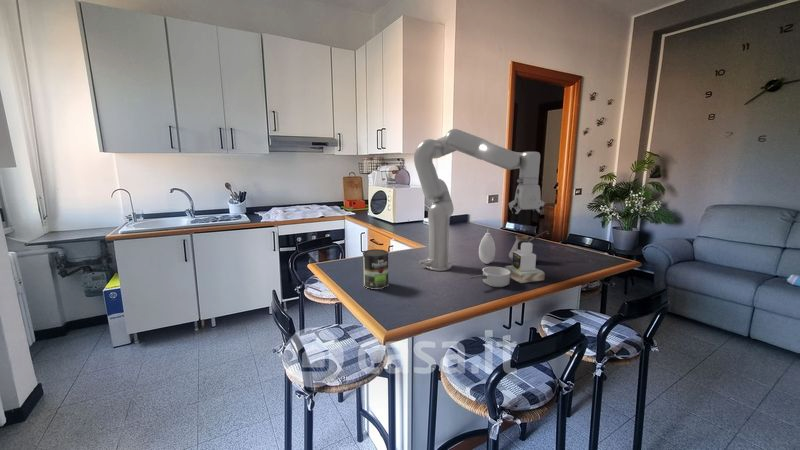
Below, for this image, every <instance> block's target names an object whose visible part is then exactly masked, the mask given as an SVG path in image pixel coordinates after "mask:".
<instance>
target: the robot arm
mask: <svg viewBox="0 0 800 450" xmlns="http://www.w3.org/2000/svg"><path fill="white" fill-rule="evenodd" d="M454 152H460V153H462V154H465V155H468V156H470V157H473V158H475V159H477V160H480V161H484V162H487V163H490V164H492V165H494V166H497V167H499V168H501V169H503V170H507V171H511V170H516V169H519V175H518V179H517V180H516V182H517V183H518V185H517V187H516V190H515V195H514V200H513V199H512V201H510V202H509V203H507V204H508V207H509V210H510V212H511V213H512V222H513V223H514V224H519V221H520V211H522V210H525V211H527V210H532V211H533V212H532V214H531V222H535V223H539V217H540V216H539V214H540V213H541V211H542V210H543V208H544V206H545V204H546V203H545V201H543V200H541V196H542V195H541V187H540V185H539V176H540V164H541V153H540V152H538V151H523V152H519V151H518V152H517V151H513V150H511V149H508V148H506V147H503V146H500V145H497V144H495V143H493V142H491V141H489V140H487V139H486V138H483V137H480V136H477V135H474V134H471V133H470V132H466V131H463V130H460V129H458V128H453V129H452V128H451V129H450V130H448V131H447V132H446V134H445V135H444V136H442V137H440V138H437V139H432V138H428V139H427V138H426V139H424V140H423V141H421V142H420V143H419V144H418V145H417V147H416V149H415V151H414V154H413V161H414V167H415V169H416V172H417V176H418V180H419V182H420V186H421V190H422V192H423V195H424V196H425V198H426V199H428V200H431V202H432V203H431V205H430V207H429V208H428V211H427V219H428V256H427V257H426V258H425V259H420V260H418V263H419V264H418V265H423V266H425V268H426V269H427V270H430V271H435V272H436V271H437V272H443V271H449V270H451V269H452V268H453V266H452V264H451V263H450V261H449V260H450V259H449V258H450V257H449V256H450V217H451V216H452V215H453V213H454V210H455V209H454V205H453V204H454V202H453V201H452V198H451V197H452V196H451V194H450V192H449V188H448V186H447V184H446V183H445V181H444V180H443V179H441V178H439V176H438V173H437V169H436V167H435V164H434V162H433V159H439V158H442V157H444V156H447V155H449V154H451V153H454Z"/></svg>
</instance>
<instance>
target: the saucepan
mask: <svg viewBox="0 0 800 450" xmlns="http://www.w3.org/2000/svg"><path fill="white" fill-rule="evenodd" d="M510 274H511V271H510V270H508V269H506V268H504V267H500V266H486V267H483V268H482V274H478V275H477V274H476V275H472V276H469V279H470V280H473V279H479V278H481V279H482V282H483V283H484V284H485V285H487V286H489V287H494V288H503V287H505V286H508V285H510V282H511V278H510Z"/></svg>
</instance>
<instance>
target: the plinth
mask: <svg viewBox="0 0 800 450" xmlns="http://www.w3.org/2000/svg"><path fill="white" fill-rule="evenodd" d="M503 268H506V269H508V270H510V271H511V274H510V279H512V280H514V281H516V282H518V283H519V284H524V283H525V284H526V283H532V282H541V281H545V274H546V273H545V272H544V271H543V270H542V269H539V268H537V267H535V271H519V270H517V269H516V268H514V267H513V266H512V264H511V265H505V266H504V267H503Z"/></svg>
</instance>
